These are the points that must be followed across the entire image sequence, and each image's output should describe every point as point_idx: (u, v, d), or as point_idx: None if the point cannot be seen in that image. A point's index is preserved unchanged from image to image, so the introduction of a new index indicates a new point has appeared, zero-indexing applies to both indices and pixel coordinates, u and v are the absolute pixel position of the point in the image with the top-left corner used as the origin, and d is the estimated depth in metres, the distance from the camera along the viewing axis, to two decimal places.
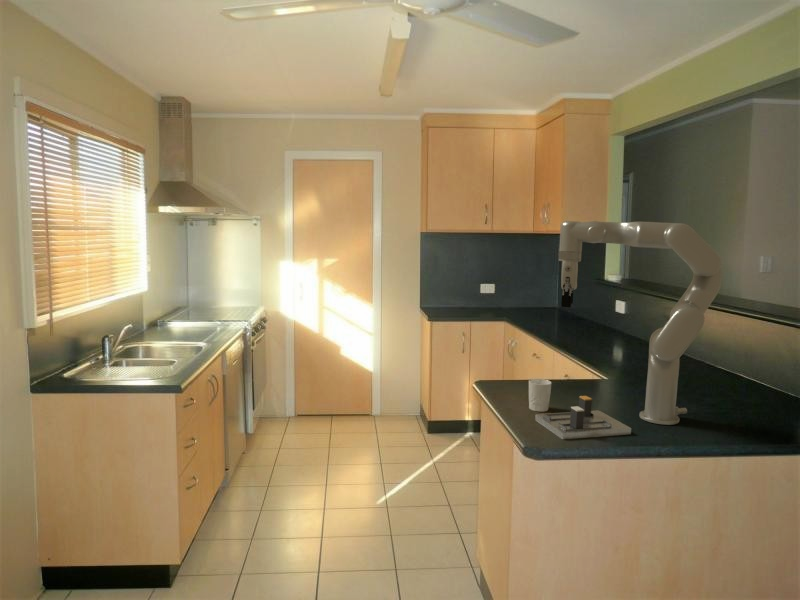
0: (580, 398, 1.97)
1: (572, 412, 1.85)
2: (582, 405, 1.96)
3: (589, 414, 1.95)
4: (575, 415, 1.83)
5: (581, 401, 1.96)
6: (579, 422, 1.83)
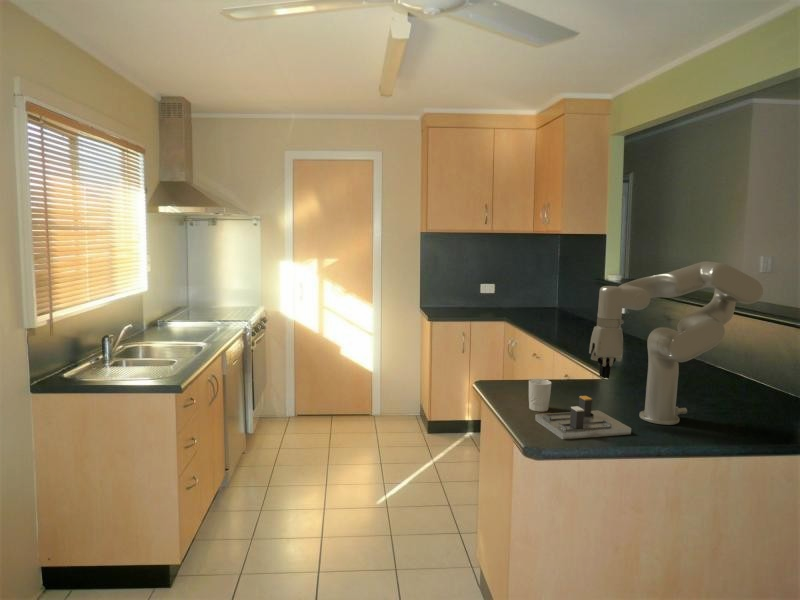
0: (580, 398, 1.97)
1: (572, 412, 1.85)
2: (582, 405, 1.96)
3: (589, 414, 1.95)
4: (575, 415, 1.83)
5: (581, 401, 1.96)
6: (579, 422, 1.83)
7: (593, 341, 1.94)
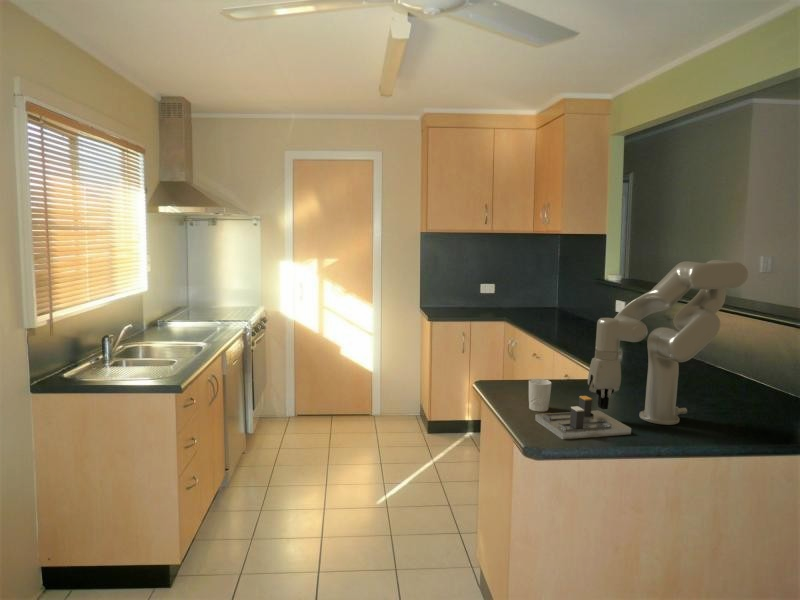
0: (580, 398, 1.97)
1: (572, 412, 1.85)
2: (582, 405, 1.96)
3: (589, 414, 1.95)
4: (575, 415, 1.83)
5: (581, 401, 1.96)
6: (579, 422, 1.83)
7: (591, 373, 1.96)
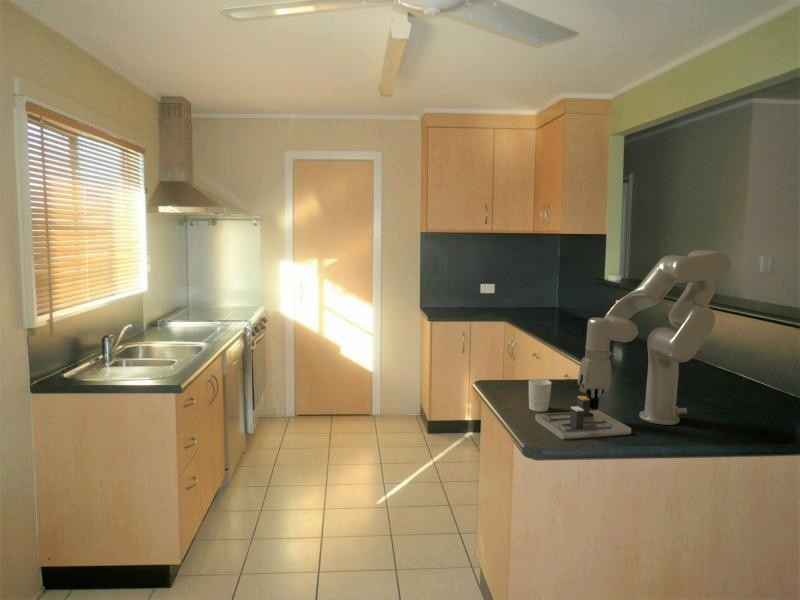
0: (578, 398, 1.97)
1: (572, 412, 1.85)
2: (580, 405, 1.96)
3: (587, 414, 1.95)
4: (575, 415, 1.83)
5: (579, 401, 1.96)
6: (579, 422, 1.83)
7: (581, 373, 1.95)
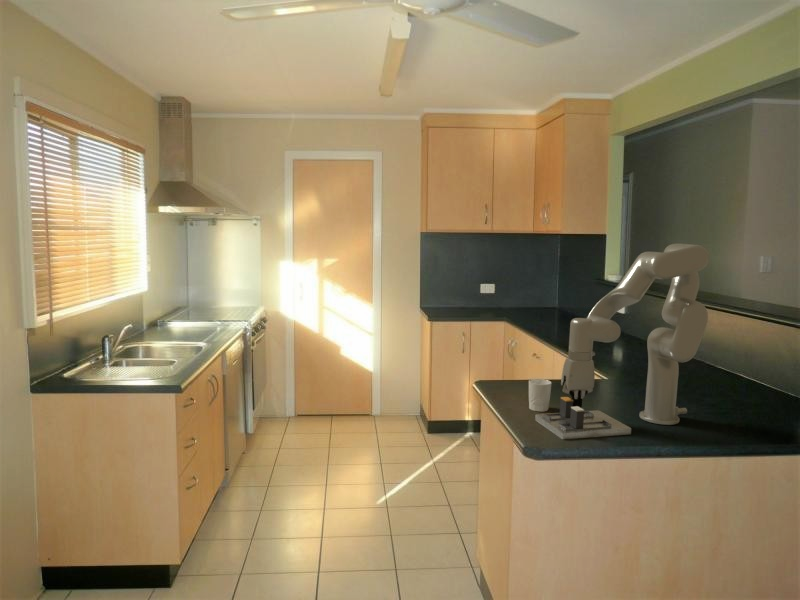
0: (561, 399, 1.95)
1: (572, 412, 1.85)
2: (563, 406, 1.94)
3: None
4: (575, 415, 1.83)
5: (562, 402, 1.95)
6: (579, 422, 1.83)
7: (564, 374, 1.93)
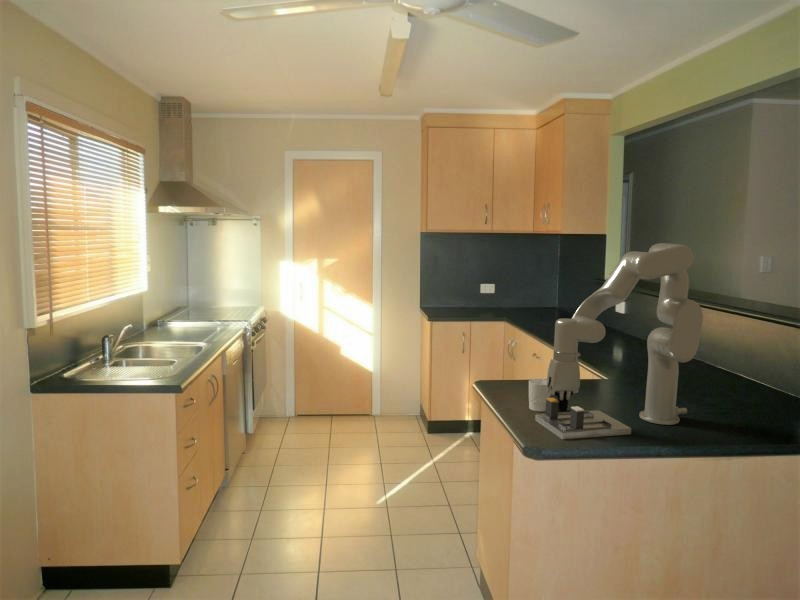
0: (547, 400, 1.94)
1: (572, 412, 1.85)
2: (549, 407, 1.93)
3: (556, 416, 1.92)
4: (575, 415, 1.83)
5: (548, 403, 1.93)
6: (579, 422, 1.83)
7: (549, 375, 1.92)
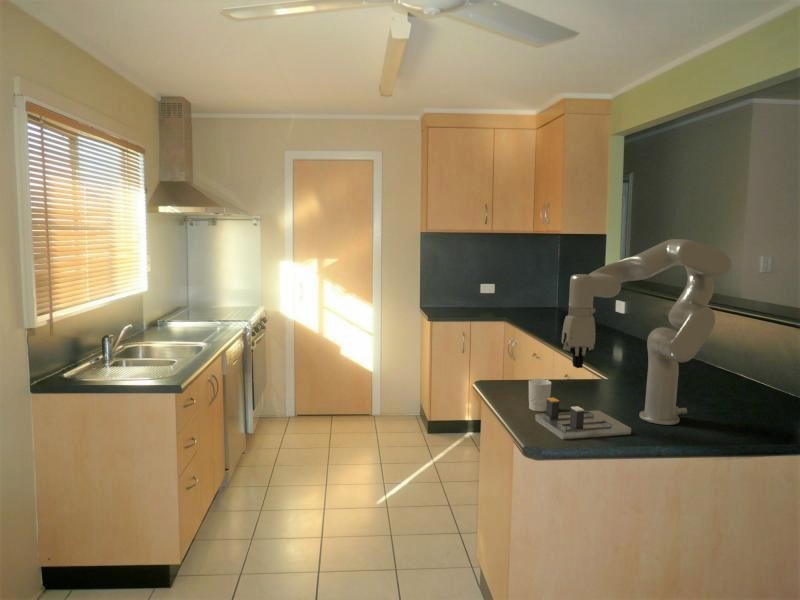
0: (548, 400, 1.94)
1: (572, 412, 1.85)
2: (549, 407, 1.93)
3: (556, 416, 1.92)
4: (575, 415, 1.83)
5: (548, 403, 1.93)
6: (579, 422, 1.83)
7: (565, 331, 1.91)
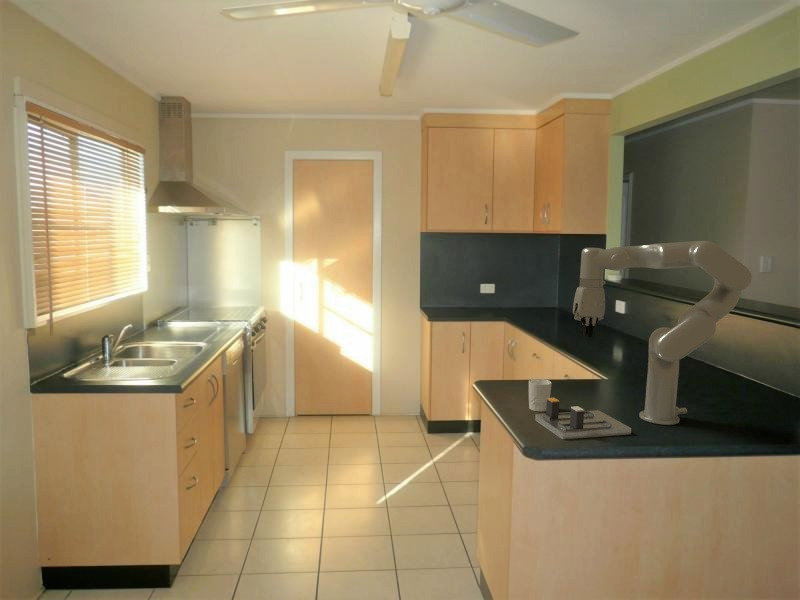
0: (548, 400, 1.94)
1: (572, 412, 1.85)
2: (549, 407, 1.93)
3: (556, 416, 1.92)
4: (575, 415, 1.83)
5: (548, 403, 1.93)
6: (579, 422, 1.83)
7: (576, 301, 2.01)
